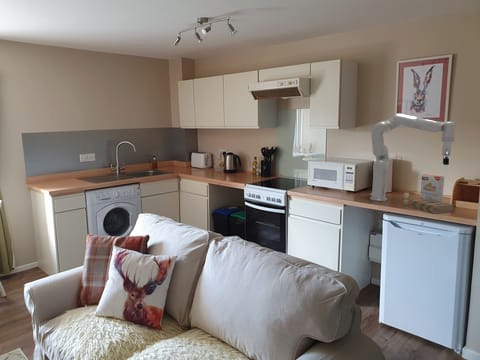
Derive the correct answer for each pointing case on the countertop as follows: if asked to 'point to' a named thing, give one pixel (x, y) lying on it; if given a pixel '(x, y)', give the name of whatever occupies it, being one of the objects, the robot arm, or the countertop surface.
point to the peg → (406, 199)
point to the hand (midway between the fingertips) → (445, 164)
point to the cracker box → (432, 187)
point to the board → (432, 206)
